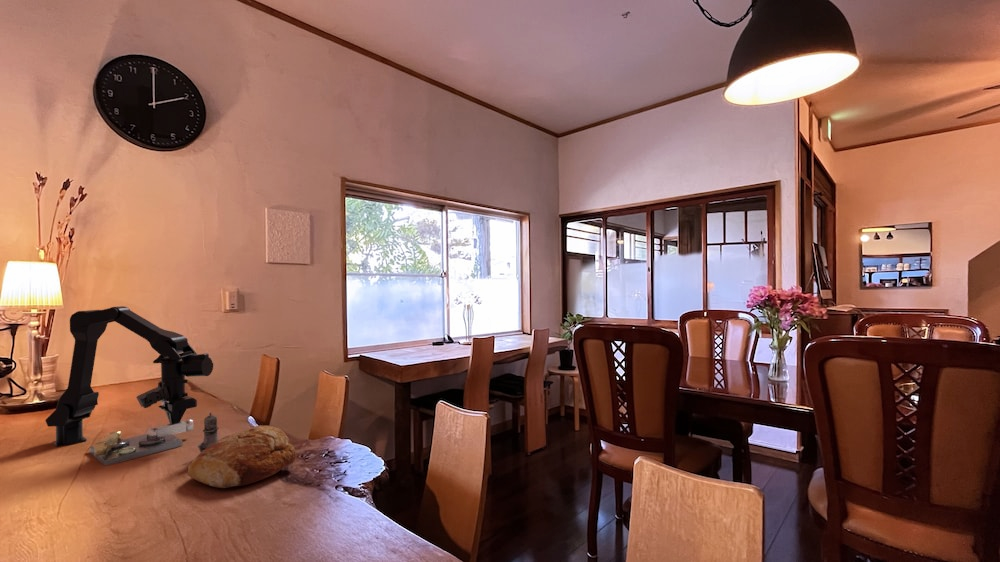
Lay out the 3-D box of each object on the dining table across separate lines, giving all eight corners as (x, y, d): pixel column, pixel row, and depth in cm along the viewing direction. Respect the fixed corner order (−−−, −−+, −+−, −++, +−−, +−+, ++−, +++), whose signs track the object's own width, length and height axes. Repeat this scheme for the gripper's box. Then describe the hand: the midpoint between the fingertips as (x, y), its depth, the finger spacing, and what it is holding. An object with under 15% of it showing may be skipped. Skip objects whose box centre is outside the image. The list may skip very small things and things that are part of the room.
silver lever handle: (142, 447, 121) (142, 433, 121) (135, 442, 125) (135, 429, 125) (197, 433, 132) (196, 421, 132) (189, 429, 135) (189, 417, 135)
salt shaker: (211, 461, 115) (210, 416, 115) (192, 460, 116) (191, 415, 116) (229, 453, 120) (228, 409, 120) (211, 451, 122) (210, 408, 122)
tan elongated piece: (106, 443, 124) (106, 430, 124) (132, 440, 127) (132, 427, 127) (83, 460, 112) (83, 446, 112) (113, 457, 114) (113, 442, 114)
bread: (299, 464, 113) (298, 426, 113) (233, 497, 96) (232, 452, 96) (242, 454, 120) (242, 417, 120) (172, 483, 103) (171, 440, 103)
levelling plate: (89, 452, 122) (89, 443, 122) (163, 434, 136) (163, 426, 136) (104, 466, 113) (104, 456, 113) (182, 445, 126) (182, 436, 126)
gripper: (129, 378, 131) (130, 430, 131) (150, 386, 120) (151, 443, 120) (174, 371, 140) (175, 420, 140) (197, 378, 129) (198, 431, 129)
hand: (174, 428), depth 132 cm, fingers closed
